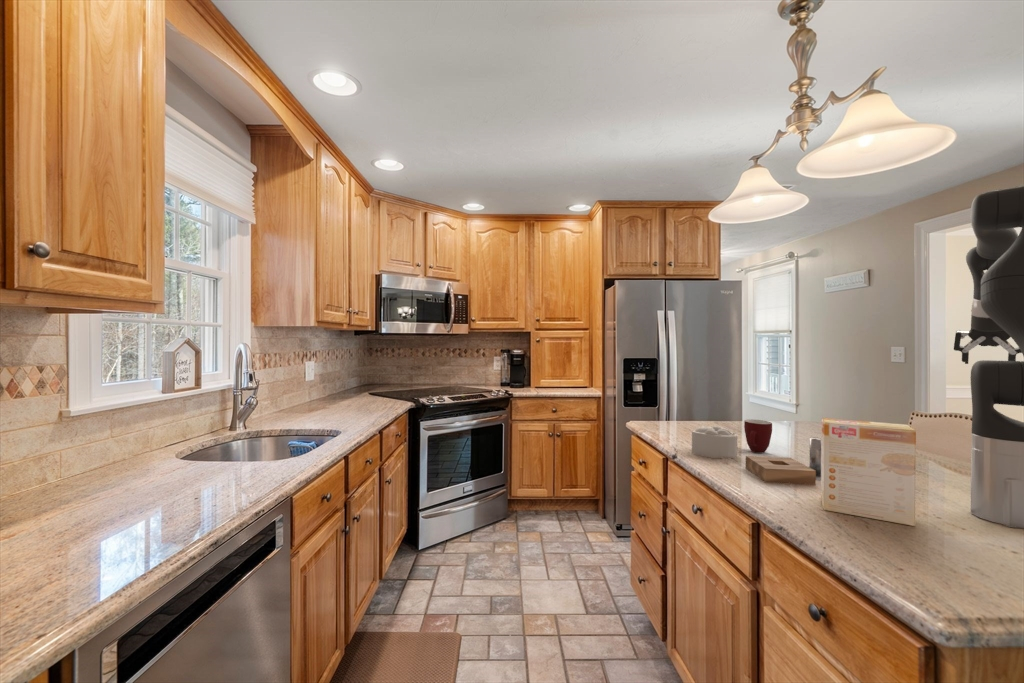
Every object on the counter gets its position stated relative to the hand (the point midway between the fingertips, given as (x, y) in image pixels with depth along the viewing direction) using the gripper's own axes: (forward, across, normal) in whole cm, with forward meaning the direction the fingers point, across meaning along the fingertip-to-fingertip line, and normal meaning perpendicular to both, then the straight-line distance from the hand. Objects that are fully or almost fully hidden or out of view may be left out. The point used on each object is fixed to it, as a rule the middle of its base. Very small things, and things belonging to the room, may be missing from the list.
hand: (987, 364), depth 125 cm
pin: (+12, -30, -60) cm, 68 cm away
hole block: (+9, -37, -69) cm, 79 cm away
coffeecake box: (+5, -17, -80) cm, 82 cm away
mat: (+12, -30, -60) cm, 69 cm away
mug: (+18, -50, -46) cm, 70 cm away
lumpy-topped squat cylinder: (+14, -58, -59) cm, 84 cm away
